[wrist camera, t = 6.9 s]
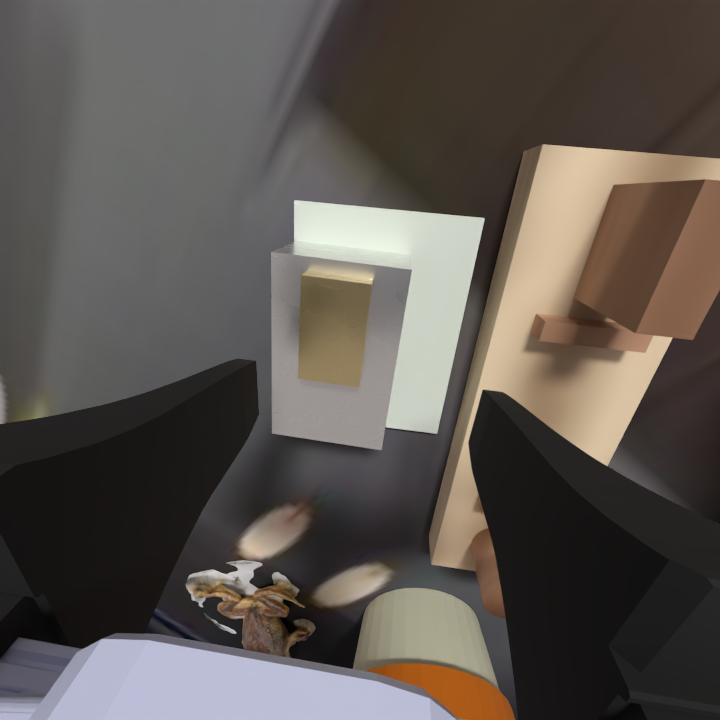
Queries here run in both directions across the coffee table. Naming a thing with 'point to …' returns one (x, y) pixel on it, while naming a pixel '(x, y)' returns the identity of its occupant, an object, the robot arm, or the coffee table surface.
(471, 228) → the felt pad
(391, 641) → the reusable coffee cup
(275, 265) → the brass-inlaid steel block
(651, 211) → the hand plane
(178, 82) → the coffee table surface
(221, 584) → the frog figurine
